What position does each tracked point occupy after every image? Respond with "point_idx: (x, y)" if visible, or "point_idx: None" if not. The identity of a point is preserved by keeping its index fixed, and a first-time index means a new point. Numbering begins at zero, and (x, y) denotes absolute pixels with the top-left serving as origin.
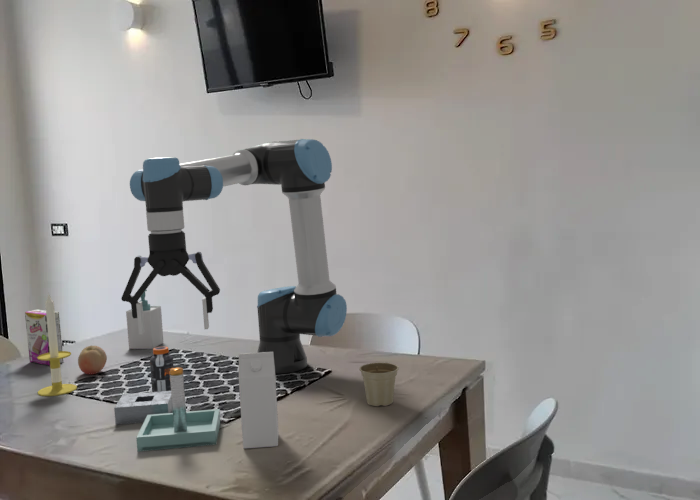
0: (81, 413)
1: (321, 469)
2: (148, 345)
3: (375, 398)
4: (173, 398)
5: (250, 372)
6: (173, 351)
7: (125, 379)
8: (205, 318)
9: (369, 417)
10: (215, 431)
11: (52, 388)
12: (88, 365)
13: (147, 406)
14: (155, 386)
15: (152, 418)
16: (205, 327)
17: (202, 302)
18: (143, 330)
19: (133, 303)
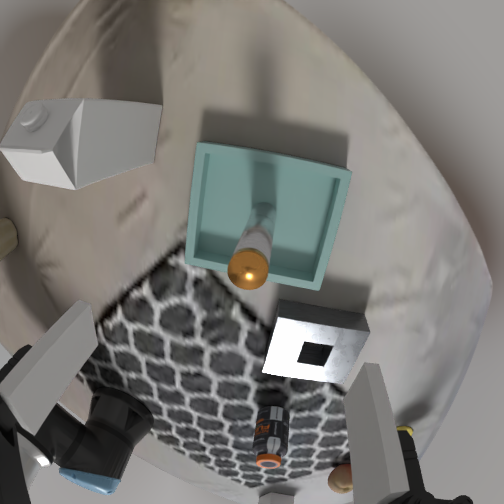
0: (394, 371)
1: (86, 19)
2: (275, 495)
3: (4, 223)
4: (268, 230)
5: (54, 109)
6: (250, 484)
7: (314, 448)
8: (57, 329)
9: (16, 184)
10: (197, 143)
11: None
12: (350, 471)
13: (314, 322)
14: (285, 414)
15: (311, 279)
16: (82, 307)
17: (17, 385)
18: (353, 390)
19: (421, 492)
